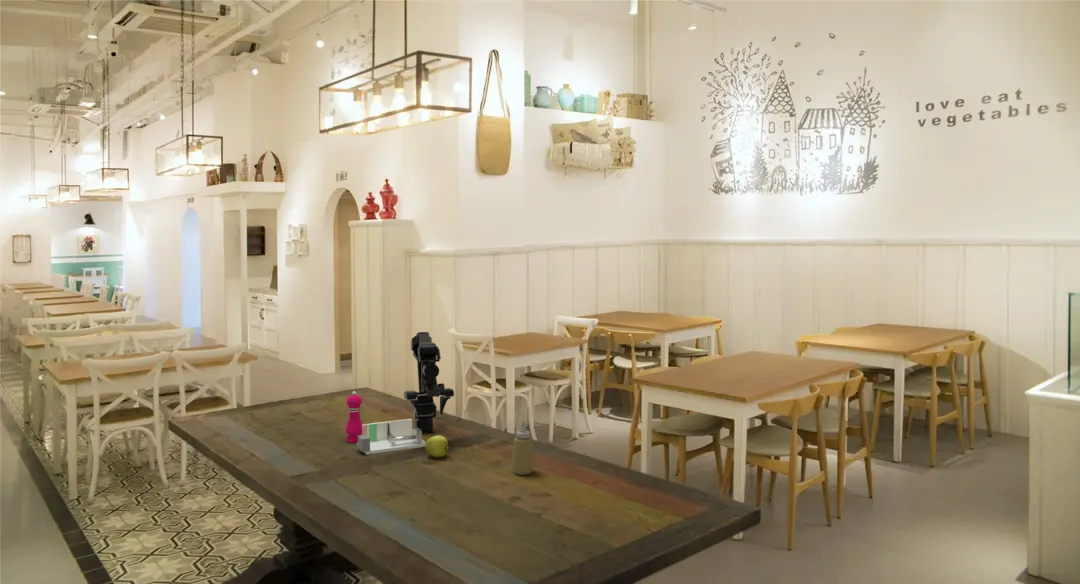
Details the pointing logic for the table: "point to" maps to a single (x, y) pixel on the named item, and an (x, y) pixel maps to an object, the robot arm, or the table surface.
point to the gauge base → (386, 437)
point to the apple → (437, 446)
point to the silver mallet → (416, 436)
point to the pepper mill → (354, 418)
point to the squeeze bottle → (523, 452)
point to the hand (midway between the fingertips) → (429, 415)
